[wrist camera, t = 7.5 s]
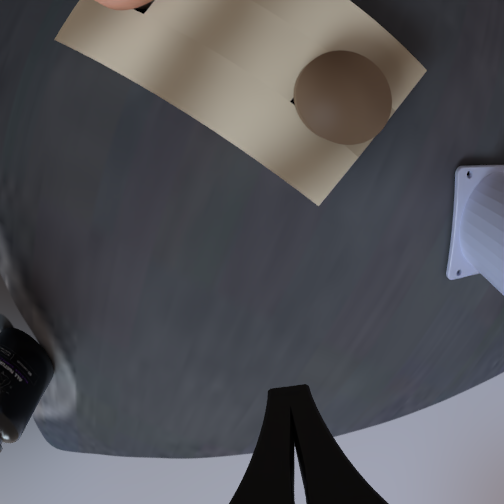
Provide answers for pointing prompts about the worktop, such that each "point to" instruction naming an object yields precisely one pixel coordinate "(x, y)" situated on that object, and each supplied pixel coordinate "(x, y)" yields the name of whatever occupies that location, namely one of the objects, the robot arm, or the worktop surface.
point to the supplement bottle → (20, 381)
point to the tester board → (244, 70)
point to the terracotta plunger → (126, 4)
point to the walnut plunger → (343, 97)
